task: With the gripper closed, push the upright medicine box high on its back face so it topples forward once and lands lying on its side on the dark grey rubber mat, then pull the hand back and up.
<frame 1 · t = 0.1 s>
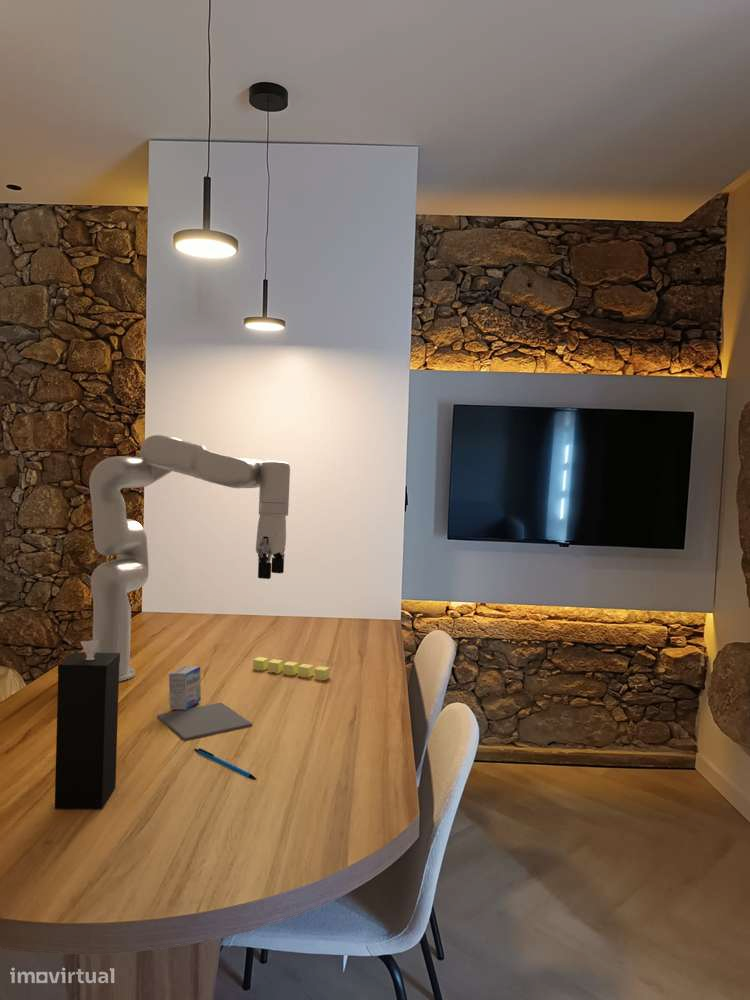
hand: (271, 575, 173), 31 cm above the table, tool pointing down, fingers open, 9 cm apart
yellow cube line: (290, 673, 196), on the table
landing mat: (204, 721, 155), on the table
medicine box: (185, 706, 163), on the table, touching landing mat
tissue box: (86, 800, 117), on the table
pen: (224, 766, 133), on the table
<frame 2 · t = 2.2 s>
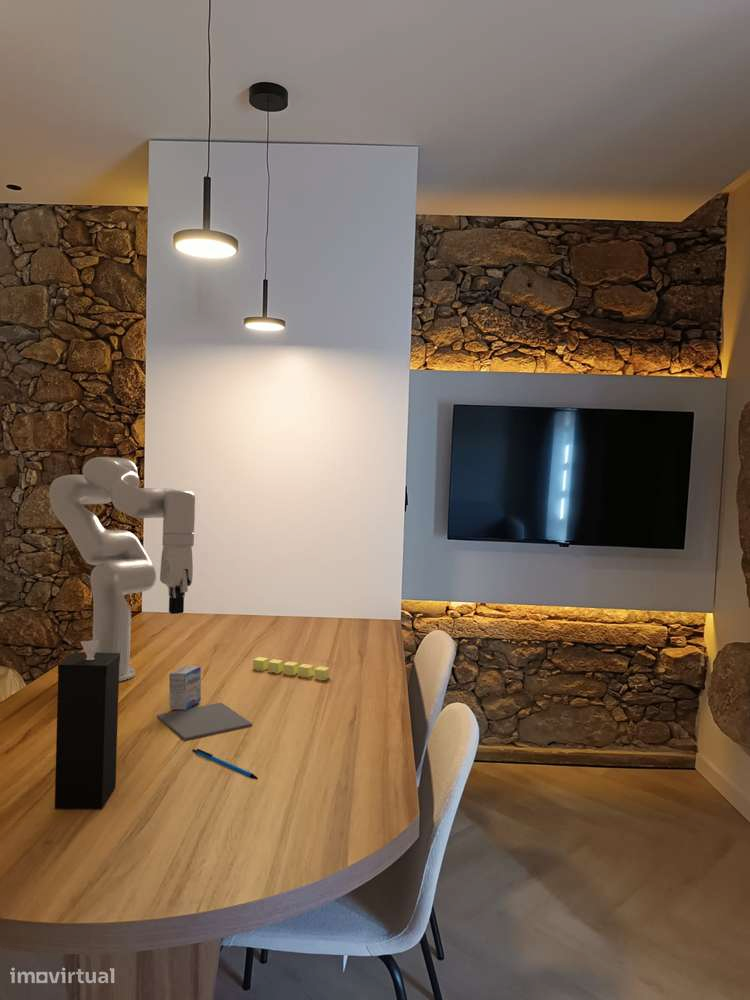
hand: (176, 612, 169), 21 cm above the table, tool pointing down, fingers closed
nothing on the table moved.
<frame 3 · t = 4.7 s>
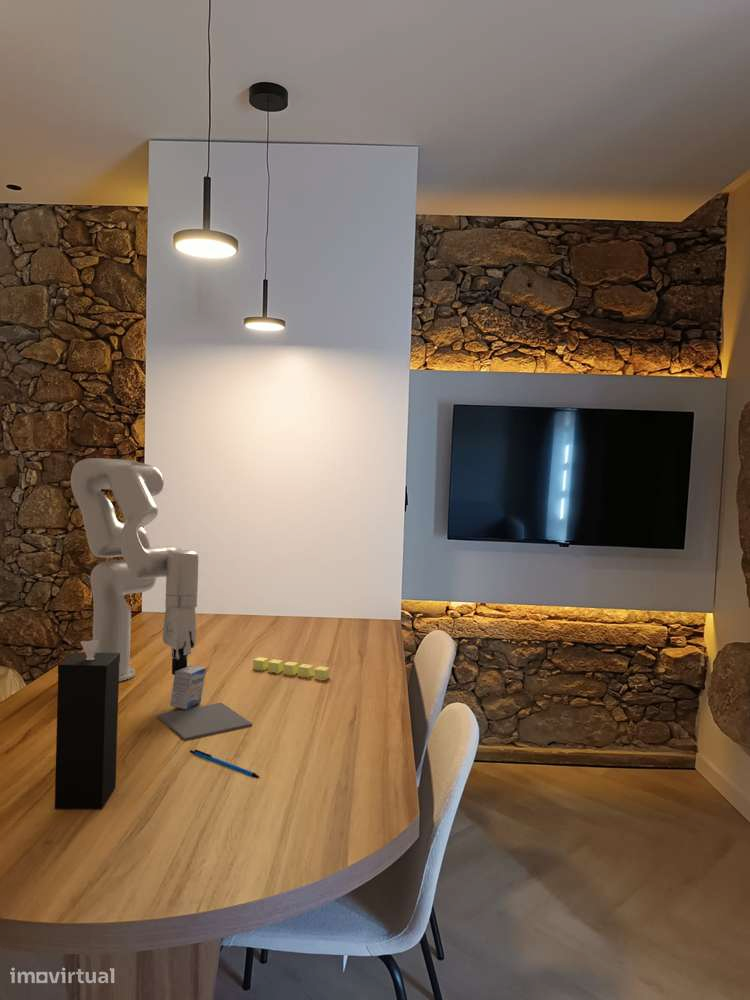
hand: (179, 674, 167), 7 cm above the table, tool pointing down, fingers closed
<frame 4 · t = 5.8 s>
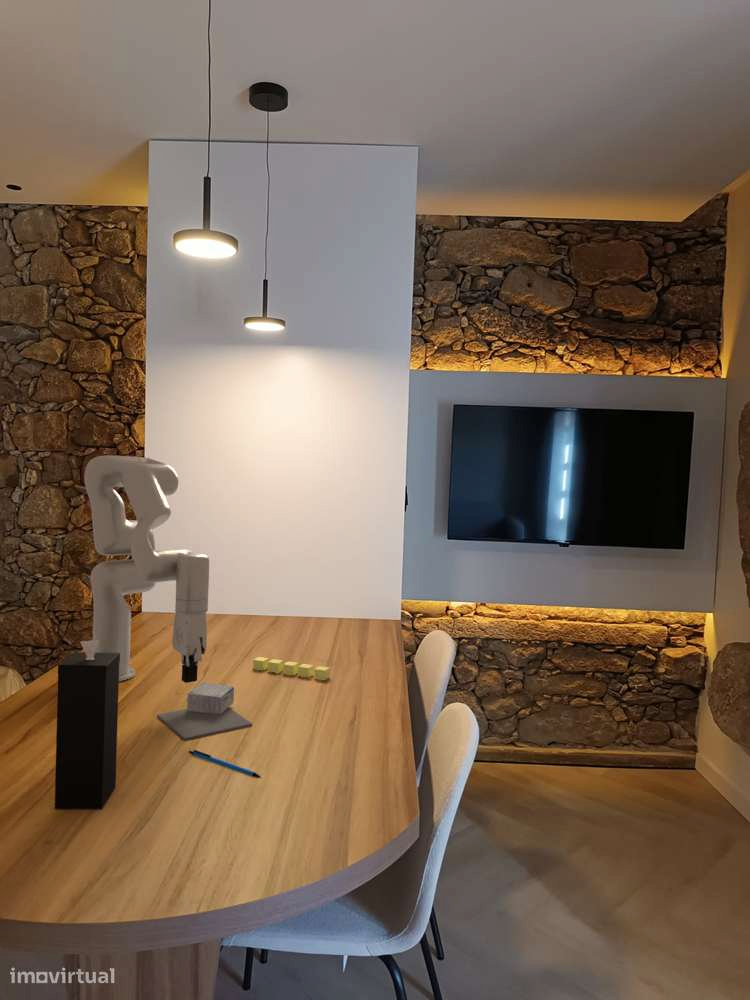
hand: (189, 680, 162), 7 cm above the table, tool pointing down, fingers closed
medicine box: (193, 696, 163), point 3 cm above the table, touching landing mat
everything else where it was.
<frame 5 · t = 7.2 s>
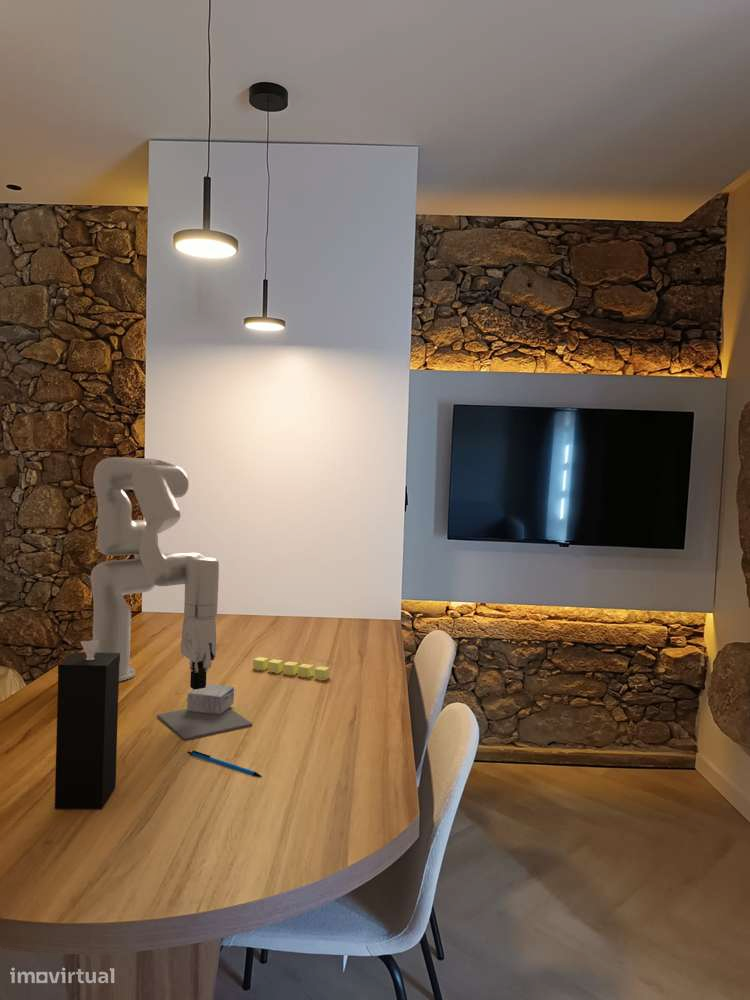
hand: (198, 687, 158), 7 cm above the table, tool pointing down, fingers closed
nothing on the table moved.
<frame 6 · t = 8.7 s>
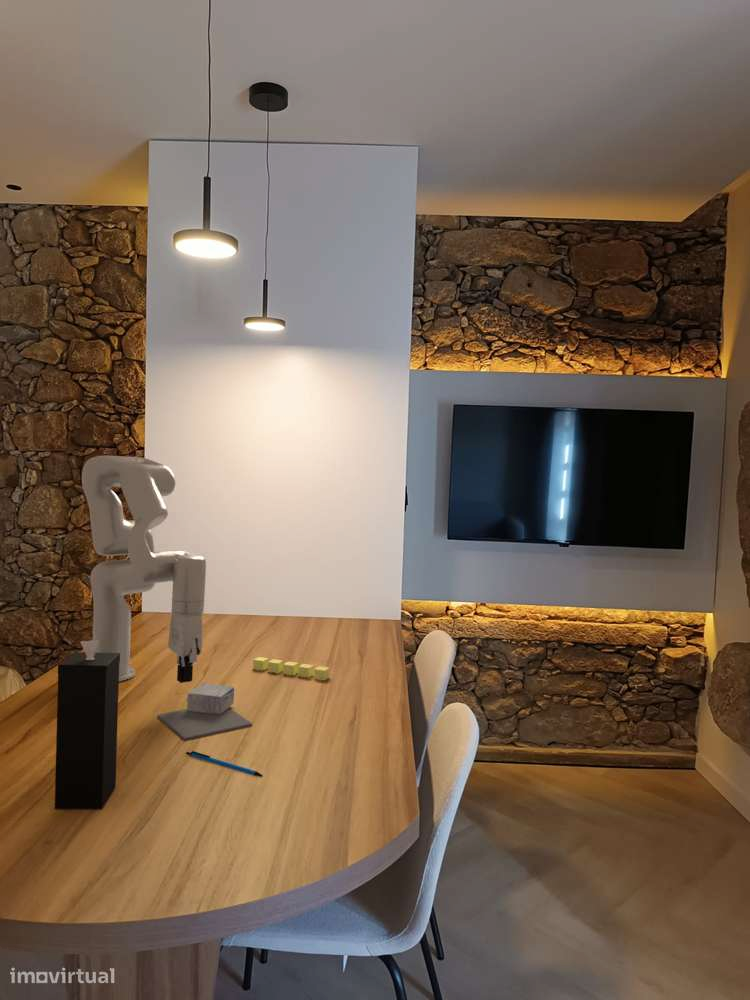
hand: (184, 680, 164), 6 cm above the table, tool pointing down, fingers closed
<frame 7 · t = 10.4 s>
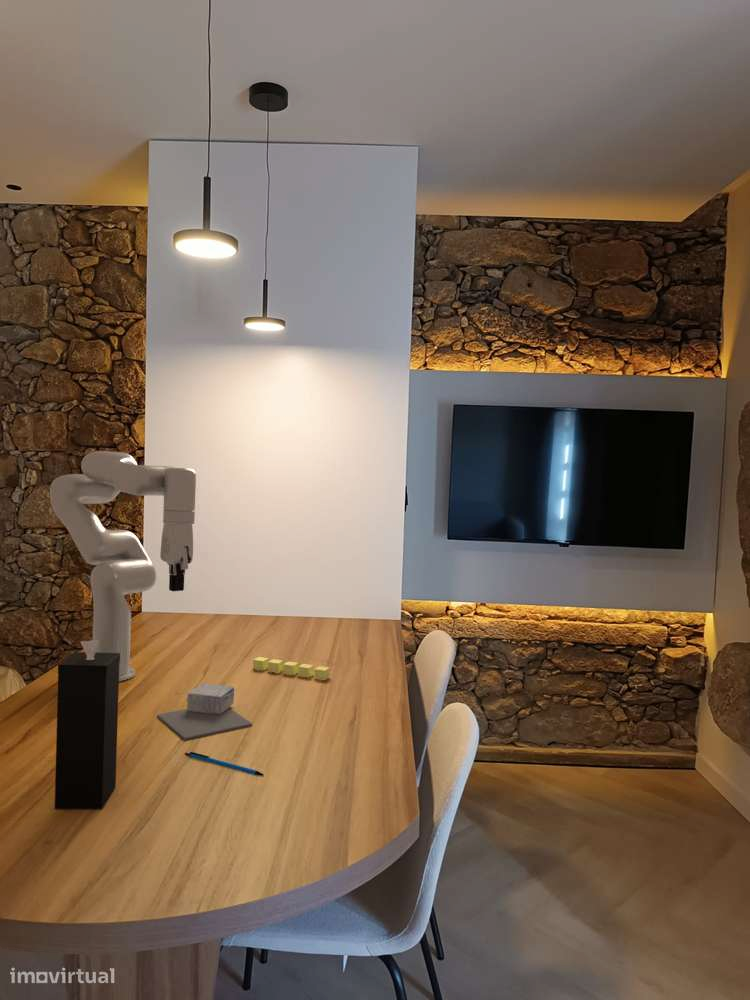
hand: (176, 590, 169), 27 cm above the table, tool pointing down, fingers closed
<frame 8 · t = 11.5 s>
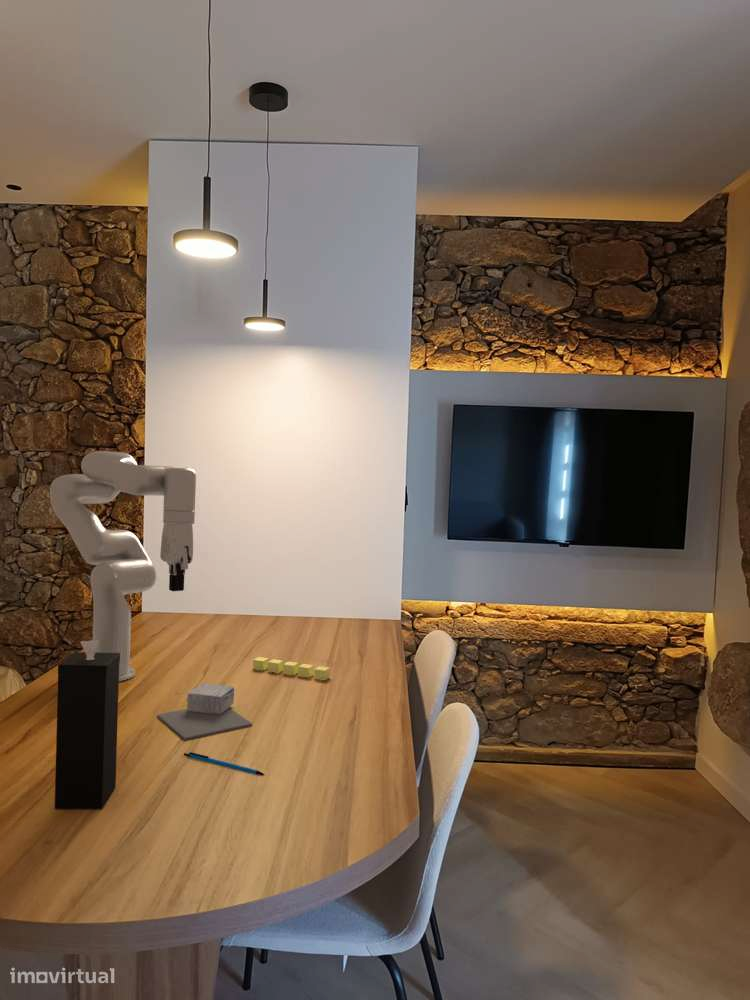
hand: (176, 590, 169), 27 cm above the table, tool pointing down, fingers closed
at the end: medicine box tilted 90°; medicine box inside the target area (5.6 cm from its centre), point 2.8 cm above the table; medicine box touching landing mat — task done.
